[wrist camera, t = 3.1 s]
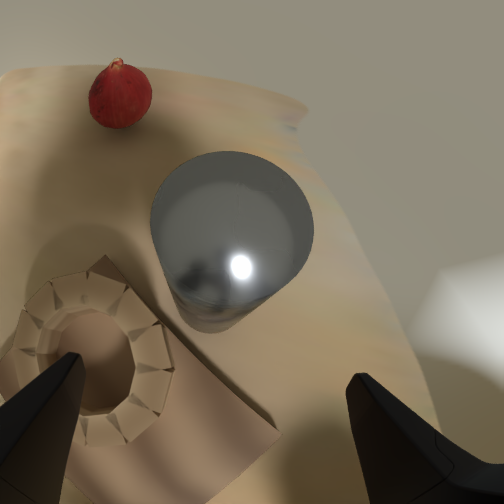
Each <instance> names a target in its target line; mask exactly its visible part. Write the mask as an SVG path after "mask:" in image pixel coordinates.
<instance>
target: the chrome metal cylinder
mask: <svg viewBox="0 0 504 504" xmlns="http://www.w3.org/2000/svg"><path fill="white" fill-rule="evenodd" d="M150 226H151V235H152V239H153V243H154V246H155V249H156V252H157V255H158V258H159V261H160V263H161V266H162V269H163V272H164V275H165V278H166V280H167V283H168V286H169V288H170V291H171V294H172V296H173V299H174V302H175V304H176V307H177V309H178V312H179V314H180V316H181V317H182V319H183V320H184V321H185V322H186V323H187V324H188V325H189V326H190V327H192V328H193V329H195V330H197V331H200V332H203V333H220V332H223V331H225V330H227V329H229V328H231V327H232V326H234V325H235V324H236V323H237V322H239V321H240V320H241V319H243V318H244V317H245V316H247V315H248V314H249V313H251V312H252V311H253V310H255V309H256V308H257V307H258V306H260V305H261V304H262V303H264V302H265V301H266V300H267V299H269V298H270V297H271V296H273V295H274V294H275V293H276V292H278V291H279V290H280V289H281V288H283V287H284V286H285V285H286V284H288V283H289V282H290V281H291V280H292V279H293V278H294V277H295V276H296V275H297V274H298V273H299V271H300V270H301V269H302V267H303V266H304V264H305V262H306V261H307V259H308V256H309V254H310V251H311V247H312V243H313V236H314V223H313V217H312V212H311V209H310V206H309V203H308V201H307V199H306V197H305V195H304V193H303V192H302V190H301V189H300V187H299V186H298V185H297V183H296V182H295V181H294V180H293V179H292V178H291V177H290V176H289V175H288V174H287V173H286V172H285V171H283V170H282V169H281V168H279V167H278V166H276V165H275V164H273V163H271V162H269V161H267V160H265V159H263V158H261V157H258V156H255V155H252V154H248V153H243V152H236V151H221V152H213V153H207V154H204V155H201V156H197V157H195V158H193V159H191V160H189V161H187V162H185V163H184V164H182V165H180V166H179V167H178V168H176V169H175V170H174V171H173V172H172V173H171V174H170V175H169V176H168V177H167V178H166V179H165V181H164V182H163V183H162V185H161V186H160V188H159V190H158V192H157V194H156V196H155V199H154V201H153V205H152V210H151V218H150Z"/></svg>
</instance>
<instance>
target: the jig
mask: <svg viewBox="0 0 504 504" xmlns="http://www.w3.org/2000/svg"><path fill="white" fill-rule="evenodd" d="M24 306H25V308H26V310H27V311H25V310H22V311H21V315H20V318H19V322H18V325H17V329H16V333H15V337H14V341H13V346H12V348H11V349H10V350H9V351H8V352H7V353H6V355H5V356H4V357H3V358H2V359H1V360H0V393H1V395H2V396H3V398H4V400H5V401H8V400H9V399H10V398H11V397H12V396H14V395H15V394H16V393H17V392H18V391H20V390H21V389H22V388H23V387H25V386H26V385H27V384H28V383H30V382H31V381H32V380H33V379H34V378H36V377H37V376H38V375H39V374H41V373H42V372H43V371H44V370H46V369H47V368H48V367H49V366H51V365H52V364H53V363H54V362H56V361H57V360H58V359H60V358H61V357H62V356H63V355H65V354H66V353H67V352H70V351H71V352H76V353H79V354H81V356H82V359H83V362H84V366H85V369H86V380H85V385H84V390H83V395H82V401H81V407H80V412H79V417H78V421H77V425H76V428H75V432H74V436H73V440H72V444H71V448H70V452H69V456H68V460H67V465H66V469H65V474H64V475H65V476H66V477H67V478H68V479H69V480H70V481H71V482H72V483H73V484H74V485H75V486H76V487H77V488H78V489H79V490H80V491H81V492H82V493H83V494H84V495H85V496H86V497H87V498H89V499H90V500H91V501H92V502H93V503H94V504H205V503H206V502H208V501H209V500H210V499H211V498H213V497H214V496H215V495H216V494H218V493H219V492H220V491H221V490H223V489H224V488H225V487H226V486H227V485H229V484H230V483H231V482H232V481H233V480H235V479H236V478H237V477H238V476H239V475H240V474H241V473H243V472H244V471H245V470H246V469H247V468H248V467H249V466H250V465H251V464H252V463H254V462H255V461H256V460H257V459H258V458H259V457H260V456H261V455H262V454H263V453H264V452H265V451H266V450H267V449H268V448H269V447H270V446H271V445H272V444H273V443H274V442H275V441H276V440H277V439H278V438H279V437H280V436H281V435H282V434H281V433H280V432H279V431H278V430H277V429H275V428H274V427H273V426H272V425H270V424H269V423H268V422H267V421H266V420H264V419H263V418H262V417H261V416H260V415H258V414H257V413H256V412H255V411H254V410H252V409H251V408H250V407H249V406H248V405H247V404H246V403H244V402H243V401H242V400H241V399H240V398H239V397H238V396H236V395H235V394H234V393H233V392H232V391H231V390H230V389H229V388H228V387H227V386H225V385H224V384H223V383H222V382H221V381H220V380H219V379H218V378H217V377H216V376H215V375H214V374H213V373H212V372H211V371H210V370H208V369H207V368H206V367H205V366H204V365H203V364H202V363H201V362H200V361H199V360H198V359H197V358H196V357H195V356H194V355H193V354H192V353H191V352H190V351H189V350H188V349H187V348H186V347H185V346H184V345H183V344H182V342H181V341H180V340H179V339H178V338H177V337H176V336H175V335H174V334H173V333H172V332H171V331H170V330H169V329H168V328H167V327H166V326H165V324H164V323H163V322H162V321H161V320H160V319H159V318H158V317H157V316H156V315H155V313H154V312H153V311H152V310H151V309H150V308H149V307H148V305H147V304H146V303H145V302H144V301H143V300H142V299H141V297H140V296H139V295H138V294H137V293H136V292H135V290H134V289H133V288H132V287H131V286H130V284H129V283H128V282H127V281H126V279H125V278H124V277H123V276H122V275H121V273H120V272H119V271H118V270H117V268H116V267H115V266H114V265H113V263H112V262H111V261H110V259H109V258H108V257H107V256H106V255H104V256H103V257H102V258H101V259H100V260H99V261H98V262H97V263H95V264H94V265H93V266H92V267H91V268H90V269H89V270H88V271H87V272H86V271H84V272H79V273H75V274H70V275H66V276H62V277H57V278H53V279H52V283H51V282H50V281H48V282H47V283H46V284H45V285H44V286H43V287H42V288H41V289H40V290H39V291H38V292H37V293H36V294H35V295H34V296H33V297H32V298H31V299H30V300H29V301H28V302H27V303H26V304H25V305H24Z"/></svg>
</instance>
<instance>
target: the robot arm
mask: <svg viewBox="0 0 504 504" xmlns="http://www.w3.org/2000/svg"><path fill="white" fill-rule="evenodd" d="M85 380H86V369H85V366H84V362H83V359H82V356H81V354H79V353H76V352H71V351H70V352H67V353H66V354H65V355H63V356H62V357H61V358H60V359H58V360H57V361H56V362H54V363H53V364H52V365H51V366H49V367H48V368H47V369H46V370H44V371H43V372H42V373H41V374H39V375H38V376H37V377H36V378H34V379H33V380H32V381H31V382H30V383H28V384H27V385H26V386H25V387H23V388H22V389H21V390H20V391H18V392H17V393H16V394H15V395H14V396H12V397H11V398H10V399H9V400H8V401H6V402H5V403H4V404H3V405H2V406H0V504H59V501H60V495H61V489H62V484H63V479H64V474H65V469H66V465H67V460H68V456H69V452H70V448H71V444H72V440H73V436H74V432H75V428H76V425H77V421H78V417H79V412H80V407H81V401H82V395H83V390H84V385H85ZM346 399H347V405H348V412H349V418H350V424H351V430H352V434H353V438H354V441H355V445H356V449H357V453H358V456H359V460H360V464H361V468H362V472H363V476H364V480H365V484H366V488H367V492H368V497H369V501H370V504H504V464H491V463H486V462H483V461H481V460H479V459H478V458H476V457H475V456H473V455H471V454H470V453H468V452H467V451H465V450H463V449H462V448H460V447H459V446H457V445H456V444H454V443H453V442H451V441H450V440H449V439H447V438H446V437H445V436H443V435H442V434H441V433H440V432H438V431H437V430H436V429H434V428H433V427H432V426H431V425H430V424H428V423H427V422H426V421H425V420H423V419H422V418H421V417H420V416H418V415H417V414H416V413H415V412H414V411H412V410H411V409H410V408H409V407H407V406H406V405H405V404H404V403H402V402H401V401H400V400H399V399H398V398H396V397H395V396H394V395H393V394H392V393H390V392H389V391H388V390H387V389H385V388H384V387H383V386H382V385H381V384H379V383H378V382H377V381H376V380H375V379H373V378H372V377H371V376H370V375H369V374H367V373H356V374H355V375H354V376H353V377H352V379H351V381H350V383H349V384H348V386H347V388H346Z"/></svg>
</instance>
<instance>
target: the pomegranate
mask: <svg viewBox="0 0 504 504" xmlns="http://www.w3.org/2000/svg"><path fill="white" fill-rule="evenodd" d="M88 98H89V107H90V113H91V115H92V117H93V118H94V119H95V120H96V121H97V122H98V123H99V124H101V125H103V126H104V127H109V128H124V127H127V126H130V125H132V124H134V123H135V122H137V121H138V120H140V119H141V118H142V117H143V116H144V114H145V113H146V112H147V110H148V108H149V107H150V104H151V99H152V89H151V85H150V83H149V81H148V79H147V77H146V75H145V74H144V73H143V72H142V71H140V70H139V69H137V68H135V67H133V66H131V65H127V64H123V60H122V59H121V58H115V59H114V60H113V61H112V62H111V63H110V64H109V66H108V67H107V68H106V69H104V70H103V71H102V72H101V73H100V74H99V75H98V76H97V77H96V79H95V81H94V83H93V85H92V87H91V89H90V92H89V97H88Z"/></svg>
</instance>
